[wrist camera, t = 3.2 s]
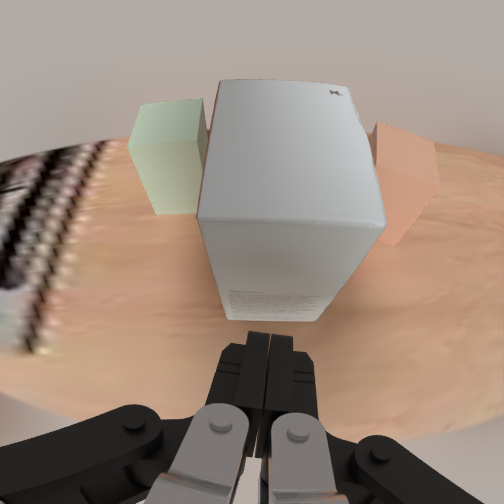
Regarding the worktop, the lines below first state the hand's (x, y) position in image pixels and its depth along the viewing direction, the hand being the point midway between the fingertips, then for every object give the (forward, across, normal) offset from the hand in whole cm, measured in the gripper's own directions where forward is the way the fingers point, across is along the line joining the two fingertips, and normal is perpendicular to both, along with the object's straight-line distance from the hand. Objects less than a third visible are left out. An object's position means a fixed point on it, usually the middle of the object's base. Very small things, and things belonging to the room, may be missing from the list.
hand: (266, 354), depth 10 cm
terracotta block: (+17, -8, -3) cm, 19 cm away
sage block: (+17, +8, -3) cm, 19 cm away
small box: (+13, 0, +2) cm, 13 cm away
